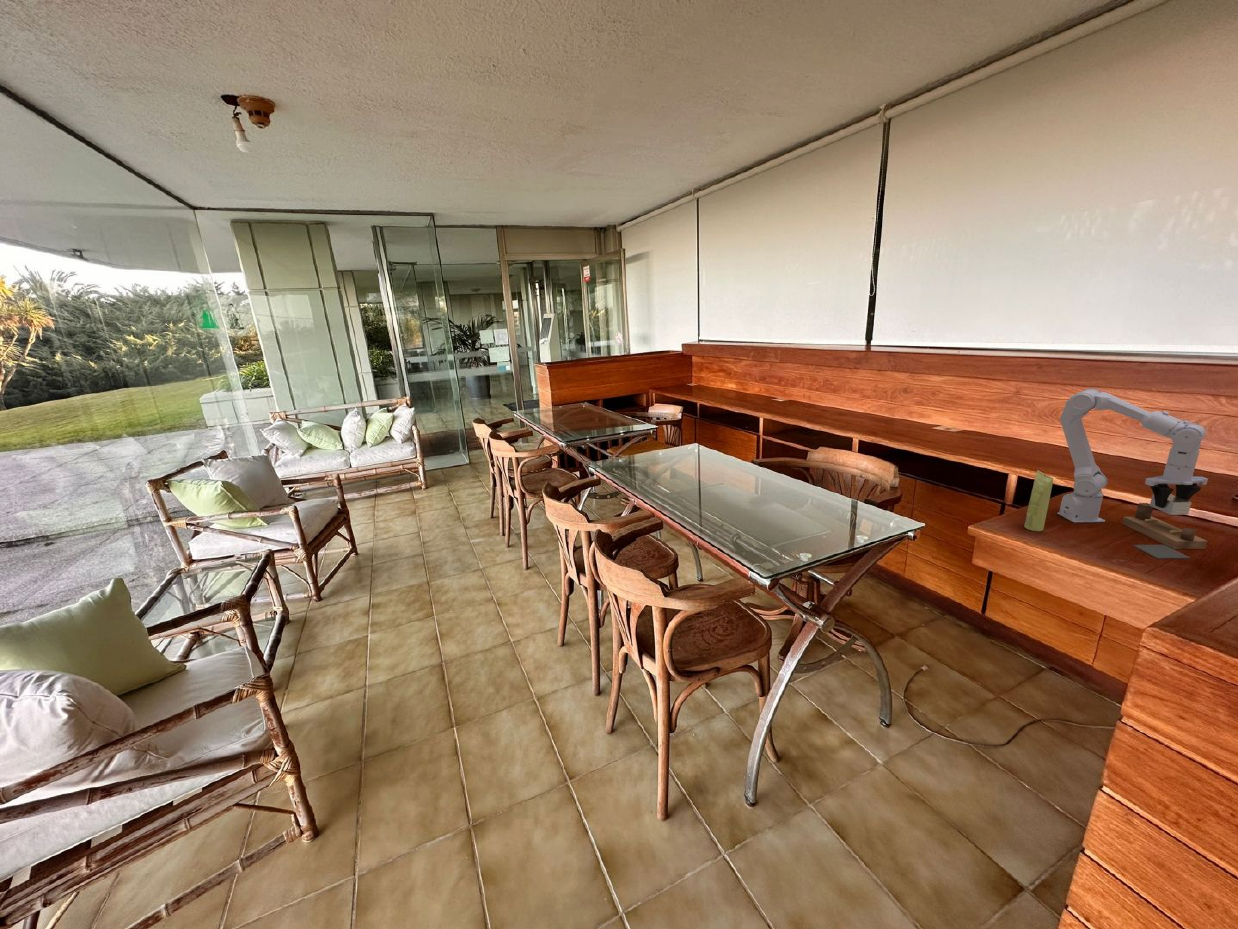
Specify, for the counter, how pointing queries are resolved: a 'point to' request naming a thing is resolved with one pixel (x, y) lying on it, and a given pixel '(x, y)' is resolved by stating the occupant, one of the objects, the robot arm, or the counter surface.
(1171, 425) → the robot arm
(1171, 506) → the lever cap
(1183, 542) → the plane body
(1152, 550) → the rubber mat
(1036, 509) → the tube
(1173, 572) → the counter surface
